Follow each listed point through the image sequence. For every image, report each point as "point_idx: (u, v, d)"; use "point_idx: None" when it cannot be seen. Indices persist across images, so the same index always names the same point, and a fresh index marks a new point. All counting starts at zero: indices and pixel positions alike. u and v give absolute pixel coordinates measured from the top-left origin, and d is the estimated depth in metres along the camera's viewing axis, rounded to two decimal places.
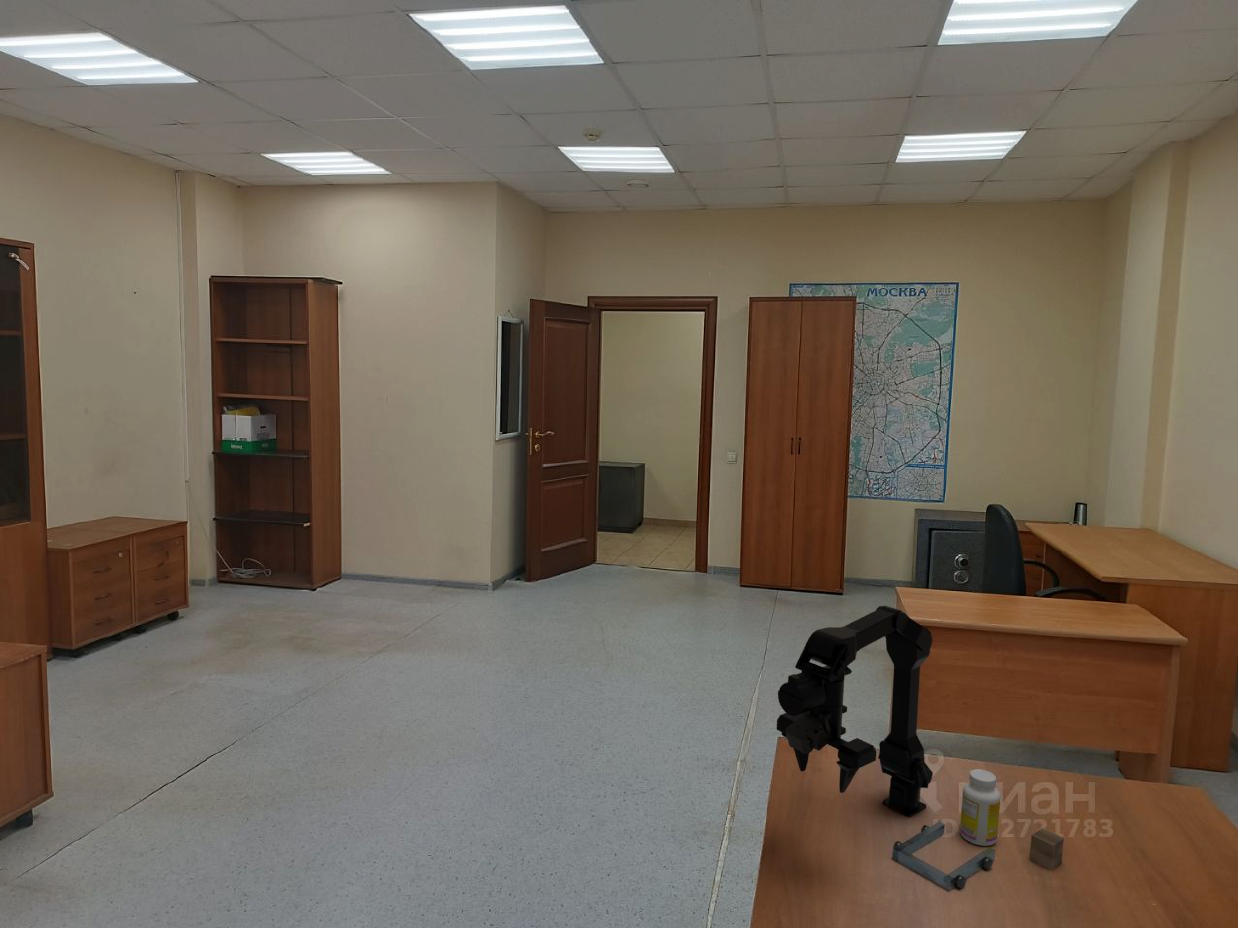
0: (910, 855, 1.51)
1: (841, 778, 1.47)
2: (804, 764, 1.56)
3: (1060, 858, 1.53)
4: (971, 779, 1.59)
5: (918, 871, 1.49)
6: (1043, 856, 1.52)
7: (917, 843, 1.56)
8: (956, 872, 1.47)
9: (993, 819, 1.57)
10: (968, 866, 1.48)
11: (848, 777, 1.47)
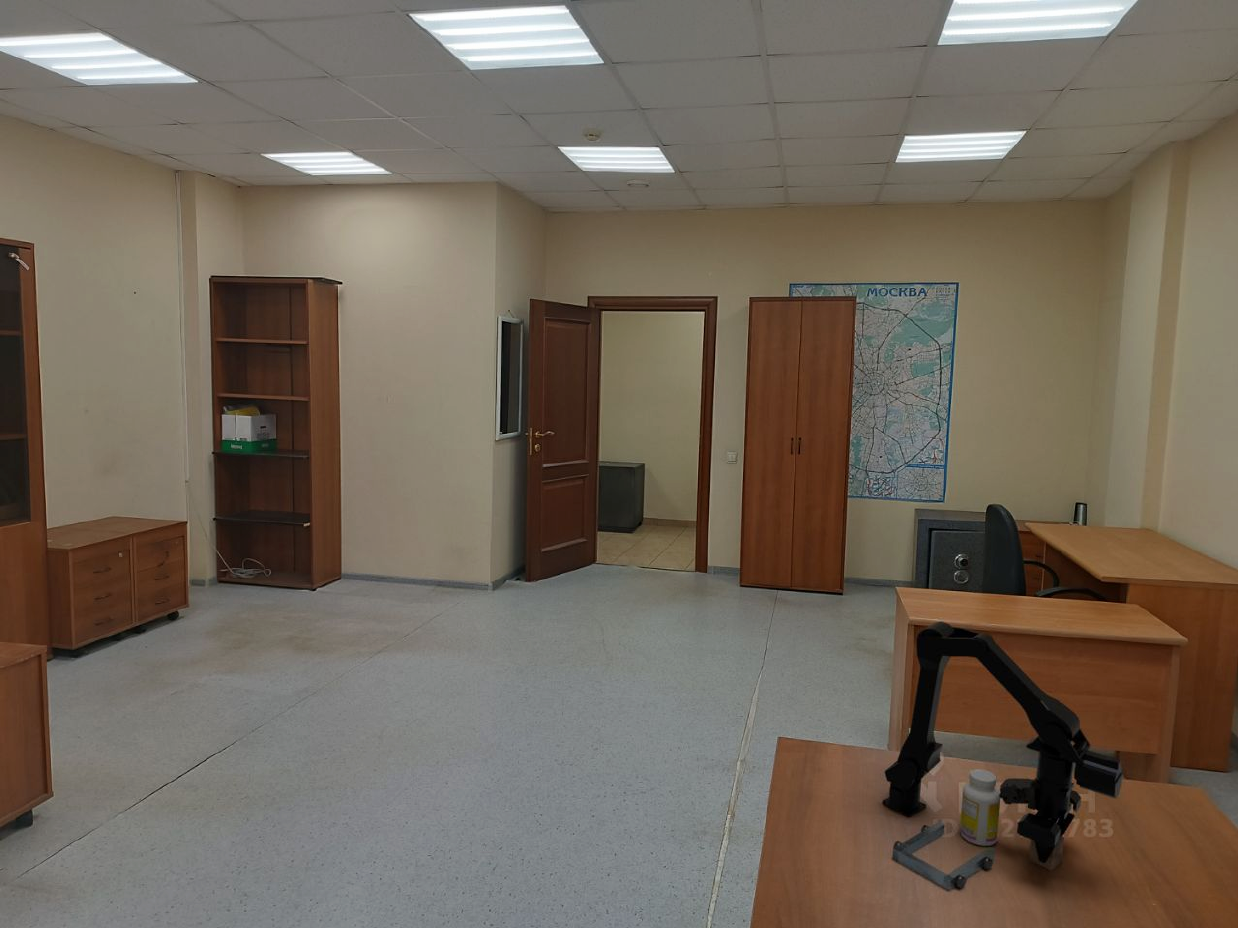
0: (910, 855, 1.51)
1: None
2: None
3: (1060, 858, 1.53)
4: (971, 779, 1.59)
5: (918, 871, 1.49)
6: None
7: (917, 843, 1.56)
8: (956, 872, 1.47)
9: (993, 819, 1.57)
10: (968, 866, 1.48)
11: (1041, 847, 1.51)
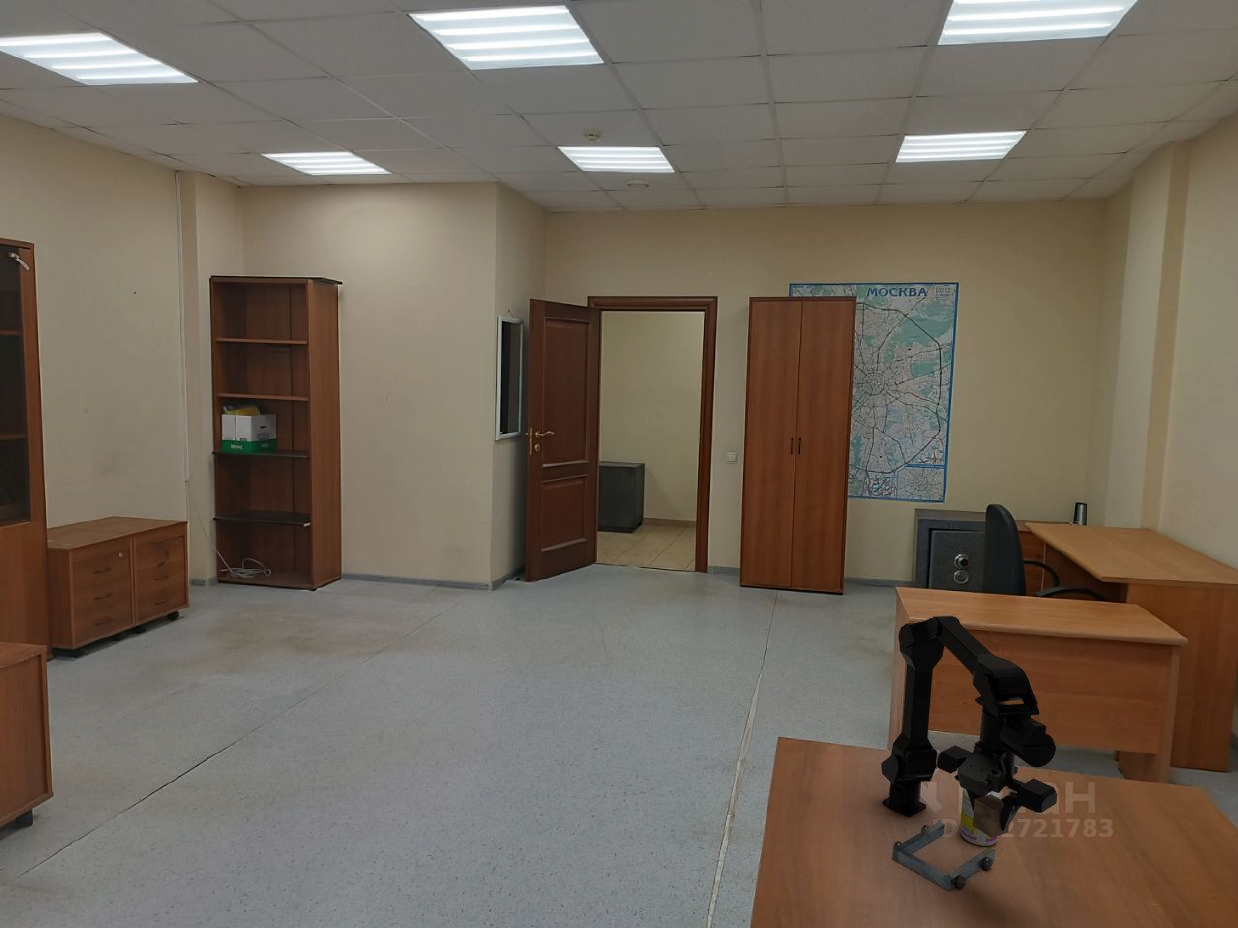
0: (910, 855, 1.51)
1: (1004, 815, 1.40)
2: None
3: None
4: None
5: (918, 871, 1.49)
6: None
7: (917, 843, 1.56)
8: (956, 872, 1.47)
9: None
10: (968, 866, 1.48)
11: (1011, 814, 1.40)
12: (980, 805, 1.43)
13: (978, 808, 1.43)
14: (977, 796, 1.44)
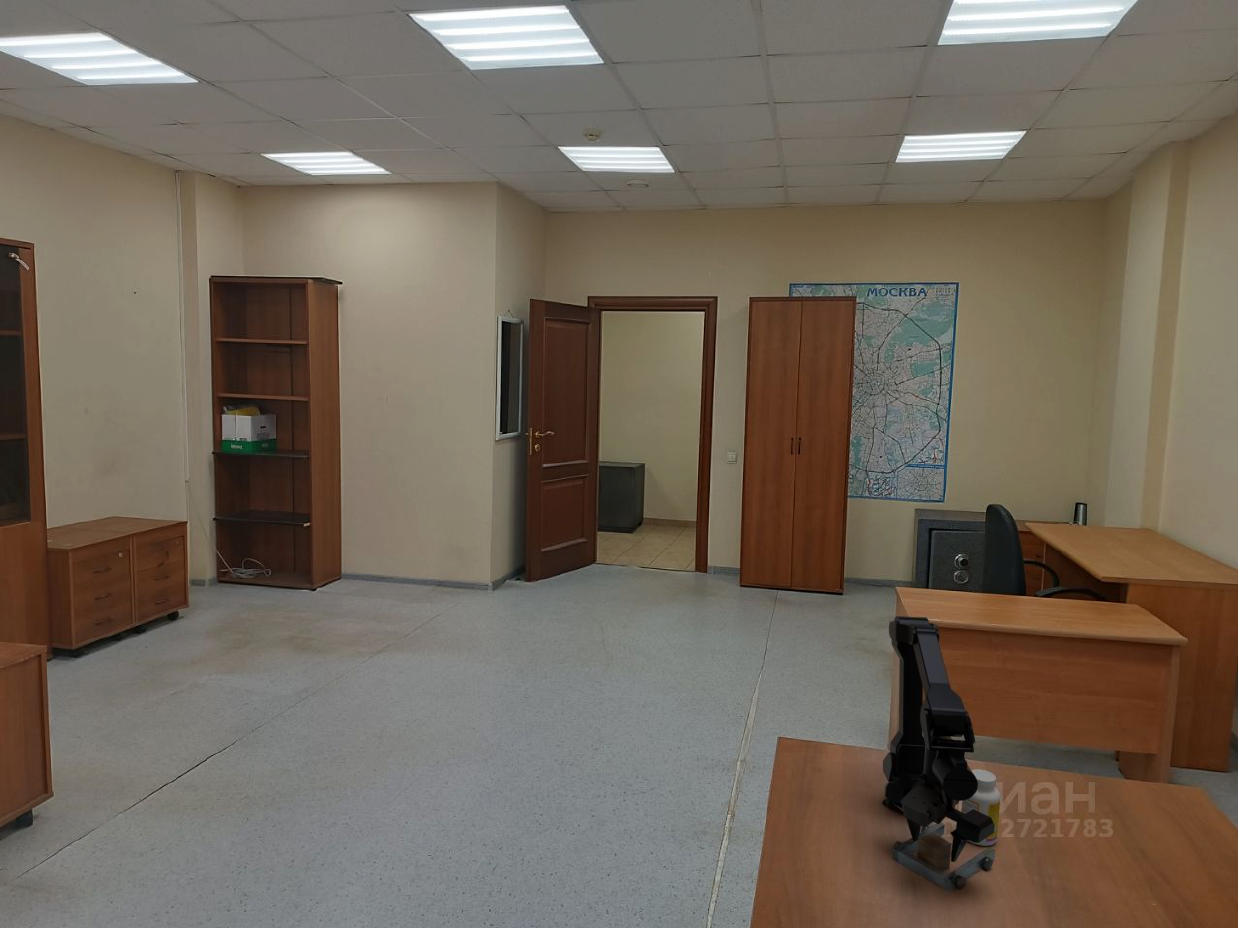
0: (910, 855, 1.51)
1: (953, 848, 1.47)
2: (917, 834, 1.54)
3: None
4: None
5: (918, 871, 1.49)
6: (944, 861, 1.50)
7: (917, 843, 1.56)
8: (956, 872, 1.47)
9: (993, 819, 1.57)
10: (968, 866, 1.48)
11: (960, 847, 1.47)
12: (923, 844, 1.51)
13: (921, 847, 1.51)
14: None
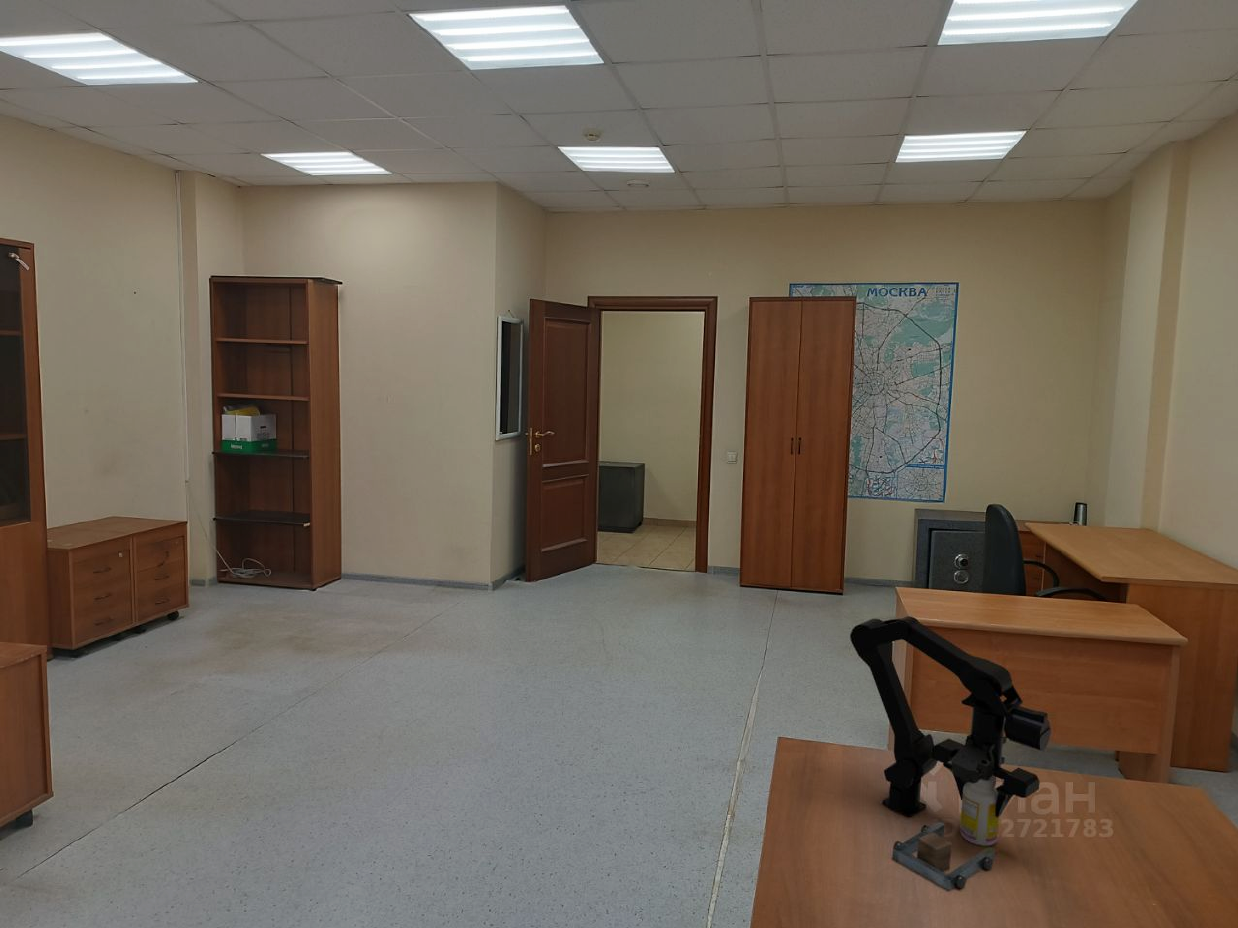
0: (910, 855, 1.51)
1: (998, 803, 1.56)
2: None
3: None
4: None
5: (918, 871, 1.49)
6: (944, 861, 1.50)
7: (917, 843, 1.56)
8: (956, 872, 1.47)
9: (993, 819, 1.57)
10: (968, 866, 1.48)
11: (1005, 802, 1.56)
12: (923, 844, 1.51)
13: (921, 847, 1.51)
14: (963, 781, 1.62)
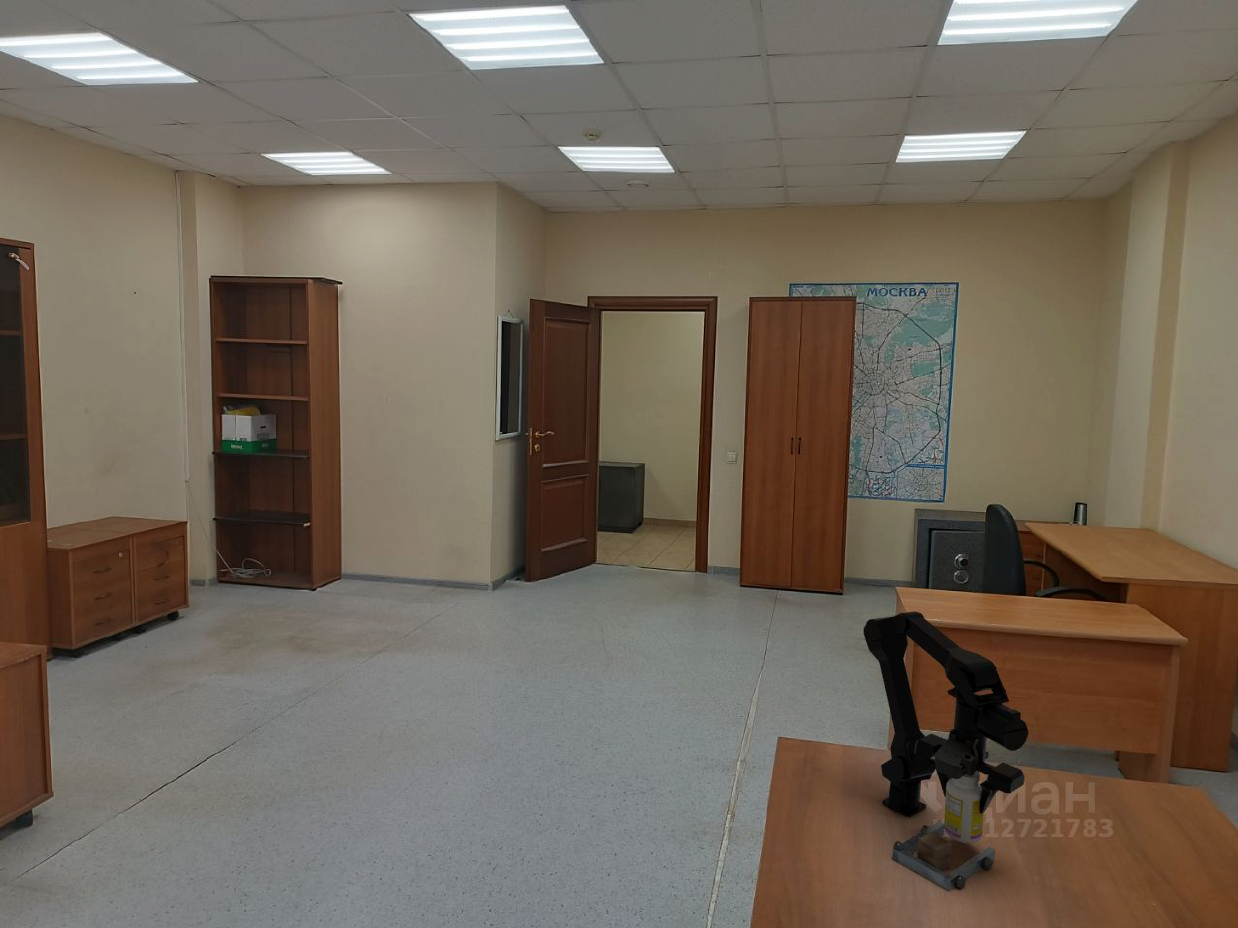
0: (910, 855, 1.51)
1: (982, 799, 1.51)
2: None
3: None
4: None
5: (918, 871, 1.49)
6: (944, 861, 1.50)
7: (917, 843, 1.56)
8: (956, 872, 1.47)
9: (977, 816, 1.53)
10: (968, 866, 1.48)
11: (989, 798, 1.52)
12: (923, 844, 1.51)
13: (921, 847, 1.51)
14: (946, 777, 1.58)
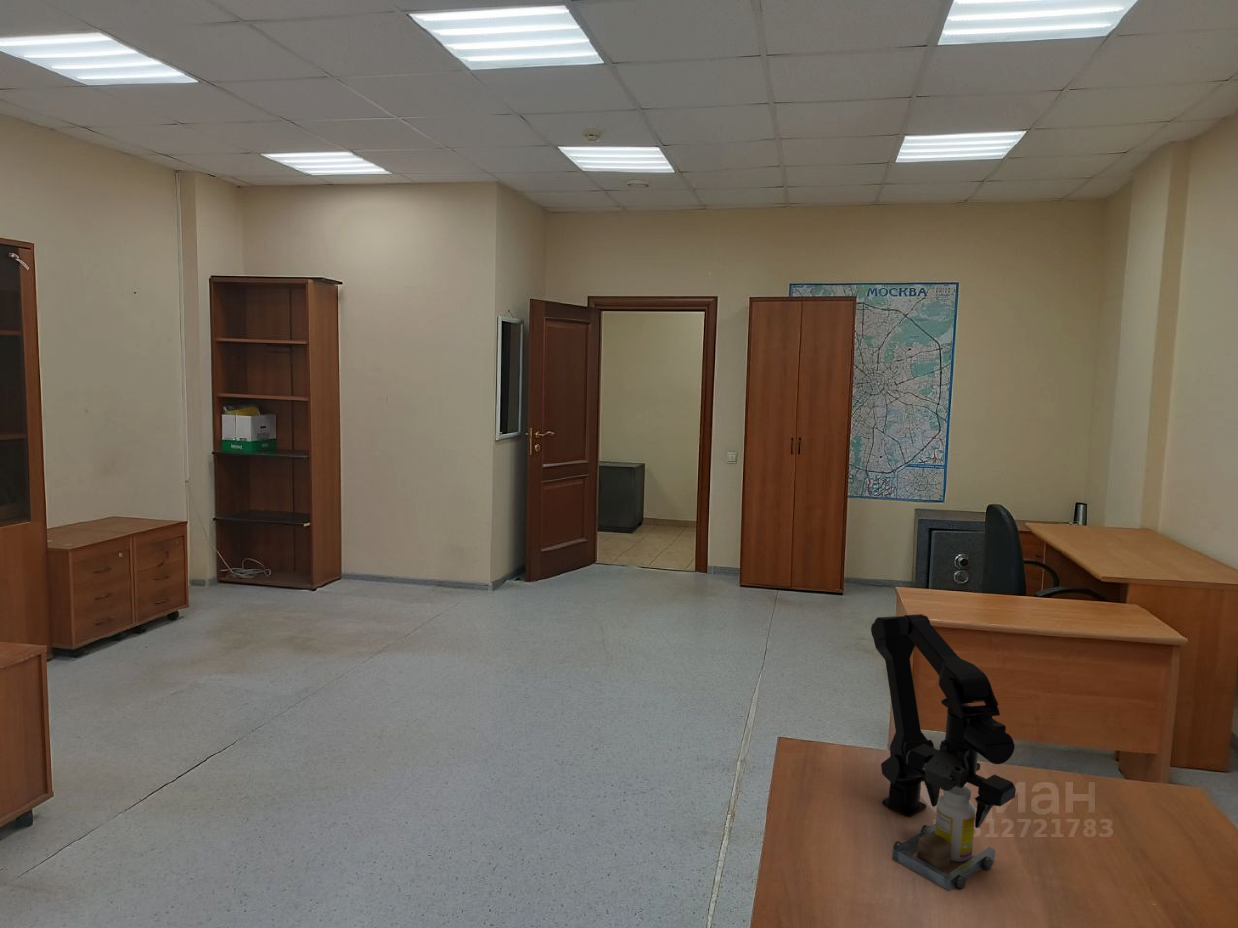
0: (910, 855, 1.51)
1: (978, 813, 1.50)
2: (936, 799, 1.58)
3: None
4: (945, 793, 1.54)
5: (918, 871, 1.49)
6: (944, 861, 1.50)
7: (917, 843, 1.56)
8: (956, 872, 1.47)
9: (967, 834, 1.52)
10: (968, 866, 1.48)
11: (984, 812, 1.50)
12: (923, 844, 1.51)
13: (921, 847, 1.51)
14: (934, 786, 1.57)
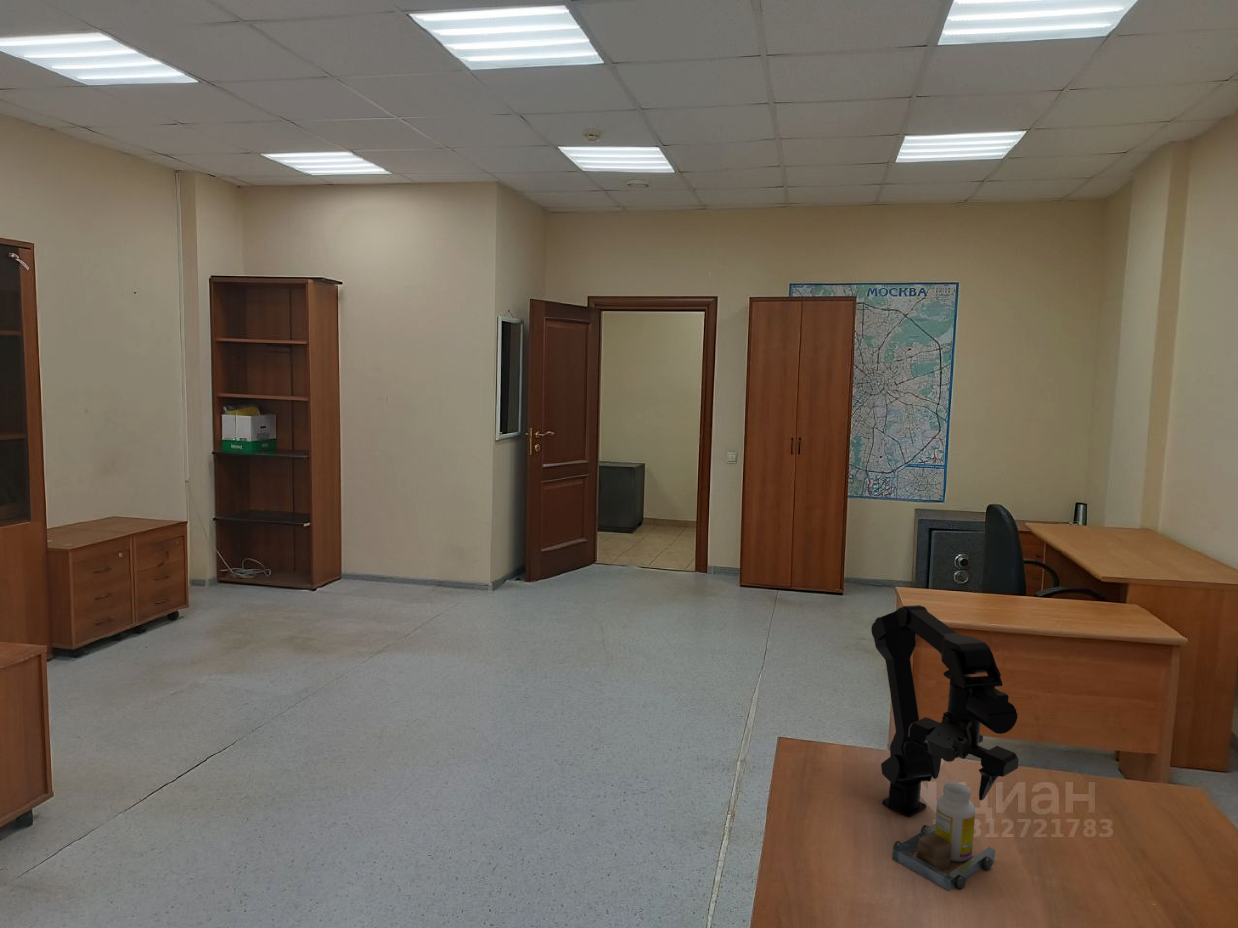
0: (910, 855, 1.51)
1: (982, 786, 1.49)
2: (937, 772, 1.57)
3: None
4: (945, 792, 1.54)
5: (918, 871, 1.49)
6: (944, 861, 1.50)
7: (917, 843, 1.56)
8: (956, 872, 1.47)
9: (967, 834, 1.52)
10: (968, 866, 1.48)
11: (989, 785, 1.49)
12: (923, 844, 1.51)
13: (921, 847, 1.51)
14: (935, 758, 1.57)
